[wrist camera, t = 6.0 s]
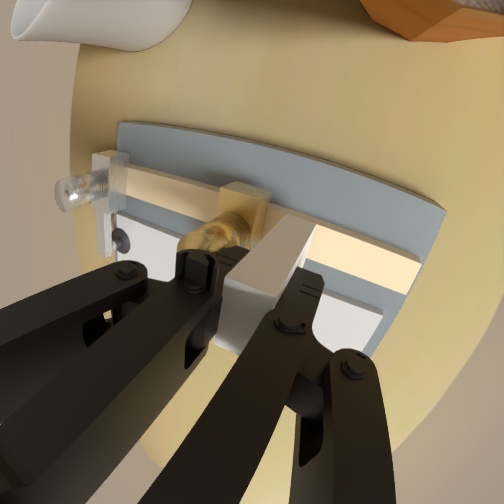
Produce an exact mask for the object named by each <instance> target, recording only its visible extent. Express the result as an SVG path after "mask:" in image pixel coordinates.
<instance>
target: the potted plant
mask: <svg viewBox="0 0 504 504" xmlns="http://www.w3.org/2000/svg"><path fill="white" fill-rule="evenodd" d="M360 2H361V3H362V5H363V6H364V8H365V9H366V11H367V12H368V14H369V15H370V17H371V19H372V20H373V21H375V22H377V23H379V24H381V25H383V26H384V27H386V28H388V29H390V30H392V31H394V32H395V33H397V34H399V35H401V36H402V37H404V38H406V39H408V40H409V41H422V42H445V43H448V42H454V41H461V40H468V39H477V38H487V37H502V36H504V0H360Z"/></svg>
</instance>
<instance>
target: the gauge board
mask: <svg viewBox="0 0 504 504" xmlns="http://www.w3.org/2000/svg"><path fill="white" fill-rule="evenodd" d="M116 151H118V152H123V153H128V154H129V162H128V177H127V197H126V208H125V209H122V210H120V211H117V212H115V213H114V230H113V232H112V240H113V239H115V238H119V239H120V240H121V242H122V246H121V247H119V248H117V249H116V250H115V261H116V262H118V261H122V260H133V261H138V262H140V263H142V264H144V265H145V267H146V268H147V271H148V278H151V279H156V280H160V281H165V282H169V281H170V280H172V279H173V278H174V277H175V264H176V252H177V245H178V242H179V240H180V239H181V238H182V237H183V236H184V235H186V234H188V233H189V232H191V231H193V230H195V229H196V228H198V227H200V226H201V225H203V224H205V223H206V222H208V221H210V220H212V219H213V218H215V216H216V209H217V203H218V197H219V191H220V187H222V186H224V185H227V184H230V183H232V182H235V181H237V182H241V183H244V184H248V185H251V186H255V187H258V188H261V189H265V190H268V191H271V196H270V200H269V204H268V209H267V213H266V217H265V221H264V226H263V230H262V234H261V238H260V241H261V240H262V239H263V238H264V237H265V236H266V235H267V234H268V233H269V232H270V231H271V229H272V228H273V227H274V226H275V225H276V224H277V223H278V222H279V221H280V220H281V219H282V218H283V217H284V216H285V215H286V214H289V215H292V216H295V217H298V218H301V219H304V220H307V221H310V222H313V223H316V227H315V231H314V234H313V237H312V240H311V244H310V247H309V250H308V253H307V256H306V259H305V262H304V265H303V269H306V270H309V271H312V272H314V273H317V274H320V275H322V277H323V280H324V282H325V285H324V288H323V292H322V295H321V298H320V302H319V305H318V308H317V311H316V314H315V317H314V321H313V324H312V330H313V334H314V336H315V337H316V339H317V340H318V341H319V342H320V343H321V344H322V345H323V346H325V347H326V348H327V349H329V350H330V351H332V352H333V353H334V352H335V351H337V350H339V349H342V348H351V349H355V350H358V351H360V352H362V353H364V354H365V355H367V356H368V357H369V358H370V357H371V355H372V354H373V352H374V351H375V349H376V348H377V346H378V345H379V343H380V342H381V340H382V339H383V337H384V335H385V334H386V332H387V331H388V329H389V327H390V326H391V324H392V322H393V321H394V319H395V317H396V316H397V314H398V312H399V311H400V309H401V307H402V305H403V304H404V302H405V300H406V298H407V296H408V294H409V293H410V291H411V289H412V287H413V285H414V283H415V281H416V279H417V277H418V275H419V273H420V271H421V269H422V267H423V265H424V263H425V261H426V259H427V257H428V254H429V252H430V250H431V248H432V245H433V243H434V241H435V239H436V236H437V234H438V231H439V229H440V227H441V224H442V222H443V219H444V216H445V214H446V210H445V209H444V208H443V207H442V206H440V205H439V204H438V203H437V202H434V201H432V200H430V199H428V198H426V197H423V196H421V195H419V194H416V193H414V192H412V191H409V190H407V189H405V188H402V187H400V186H397V185H395V184H392V183H390V182H387V181H384V180H382V179H379V178H377V177H374V176H371V175H368V174H366V173H363V172H360V171H357V170H354V169H351V168H348V167H345V166H342V165H339V164H336V163H333V162H330V161H327V160H324V159H320V158H317V157H314V156H310V155H307V154H303V153H300V152H296V151H293V150H289V149H285V148H282V147H278V146H274V145H270V144H266V143H262V142H257V141H253V140H249V139H244V138H239V137H235V136H230V135H225V134H220V133H215V132H209V131H204V130H198V129H192V128H185V127H179V126H172V125H165V124H157V123H148V122H139V121H132V122H119V128H118V137H117V148H116Z"/></svg>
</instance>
